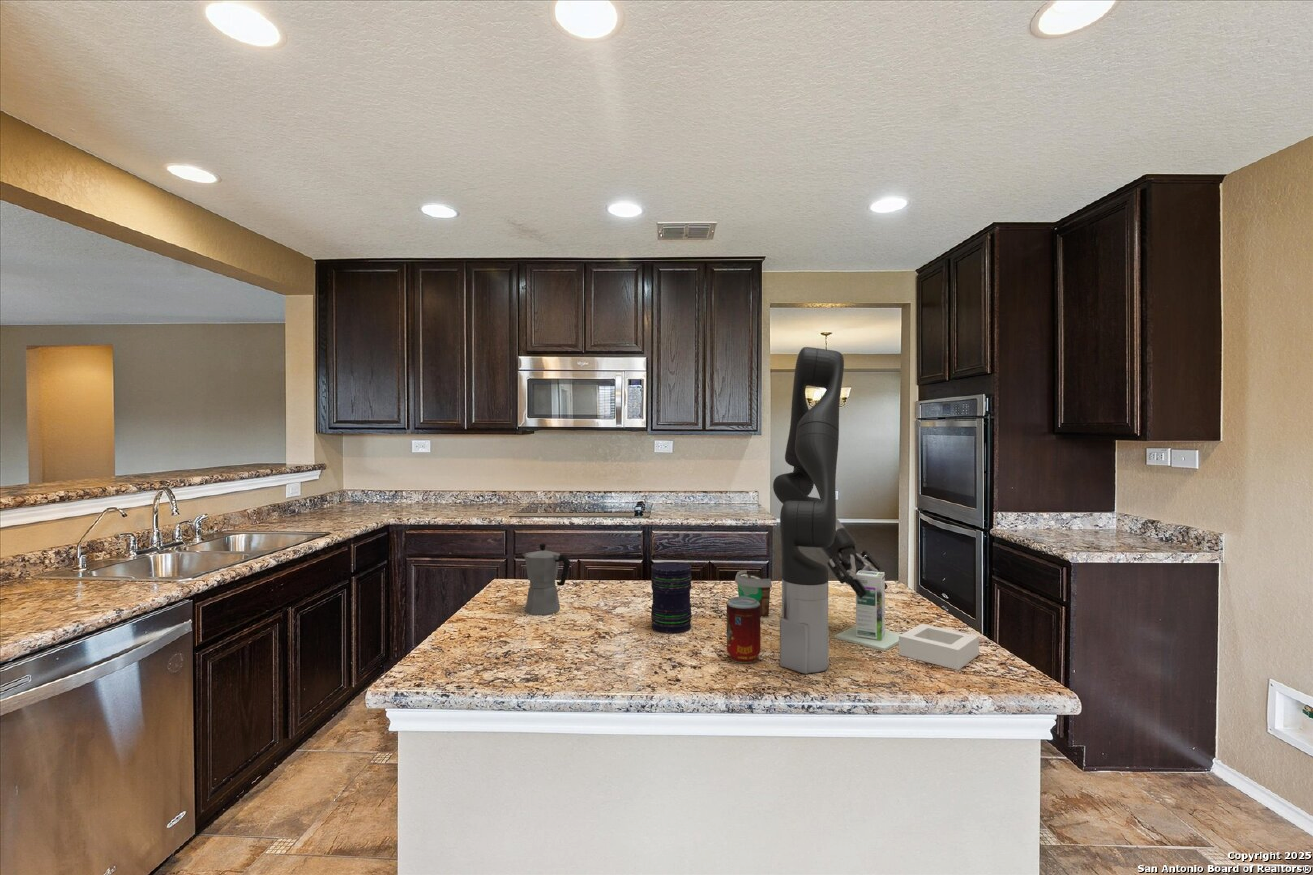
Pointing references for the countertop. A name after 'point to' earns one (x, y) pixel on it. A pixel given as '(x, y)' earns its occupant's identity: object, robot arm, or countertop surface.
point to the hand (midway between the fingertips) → (874, 592)
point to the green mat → (884, 644)
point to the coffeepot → (544, 580)
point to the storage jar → (671, 597)
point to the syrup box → (871, 605)
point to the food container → (754, 589)
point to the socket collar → (939, 646)
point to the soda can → (743, 629)
